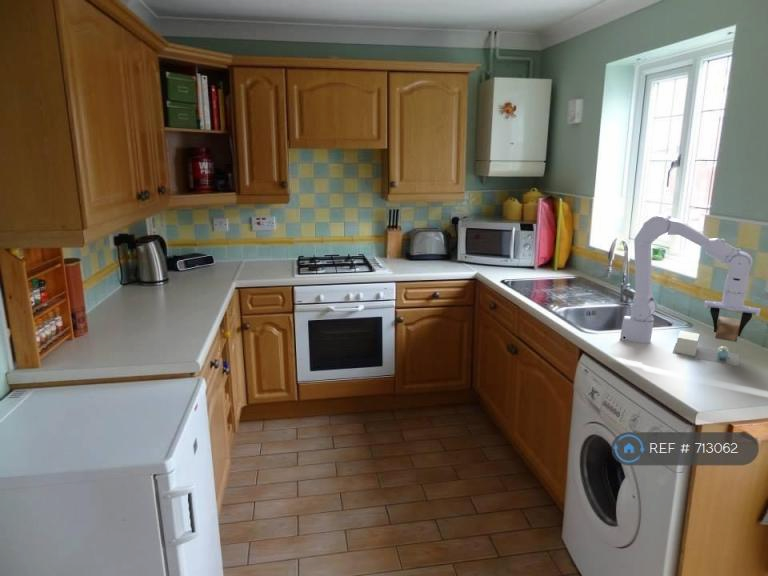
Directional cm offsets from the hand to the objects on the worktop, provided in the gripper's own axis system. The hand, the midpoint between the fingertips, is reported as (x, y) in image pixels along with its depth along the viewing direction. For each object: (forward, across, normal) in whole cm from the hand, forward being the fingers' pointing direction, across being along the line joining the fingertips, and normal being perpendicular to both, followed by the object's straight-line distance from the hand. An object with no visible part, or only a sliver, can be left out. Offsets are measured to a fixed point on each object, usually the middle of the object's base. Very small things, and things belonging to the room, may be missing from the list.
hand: (726, 333), depth 167 cm
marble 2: (+8, 0, -2) cm, 8 cm away
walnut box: (+1, 0, 0) cm, 1 cm away
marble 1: (+8, 0, +2) cm, 8 cm away
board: (+9, -4, 0) cm, 10 cm away
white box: (+8, -10, 0) cm, 13 cm away
